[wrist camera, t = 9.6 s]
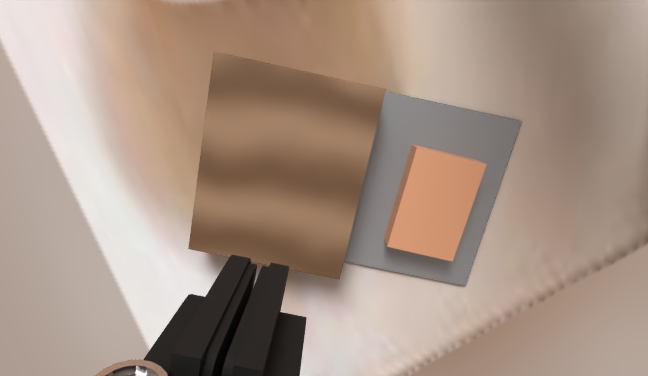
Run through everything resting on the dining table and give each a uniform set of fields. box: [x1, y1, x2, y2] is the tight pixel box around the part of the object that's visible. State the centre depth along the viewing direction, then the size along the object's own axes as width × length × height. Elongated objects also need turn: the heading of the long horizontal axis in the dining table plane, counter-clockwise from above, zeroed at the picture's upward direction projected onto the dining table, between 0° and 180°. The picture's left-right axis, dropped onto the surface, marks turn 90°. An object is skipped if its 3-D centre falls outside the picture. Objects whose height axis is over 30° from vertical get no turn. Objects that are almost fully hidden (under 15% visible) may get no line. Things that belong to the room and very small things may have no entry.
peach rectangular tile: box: [384, 145, 487, 262], centre depth 32 cm, size 9×6×2 cm, turn 167°
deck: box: [189, 52, 386, 279], centre depth 31 cm, size 16×13×4 cm
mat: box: [344, 91, 522, 286], centre depth 33 cm, size 16×12×1 cm
